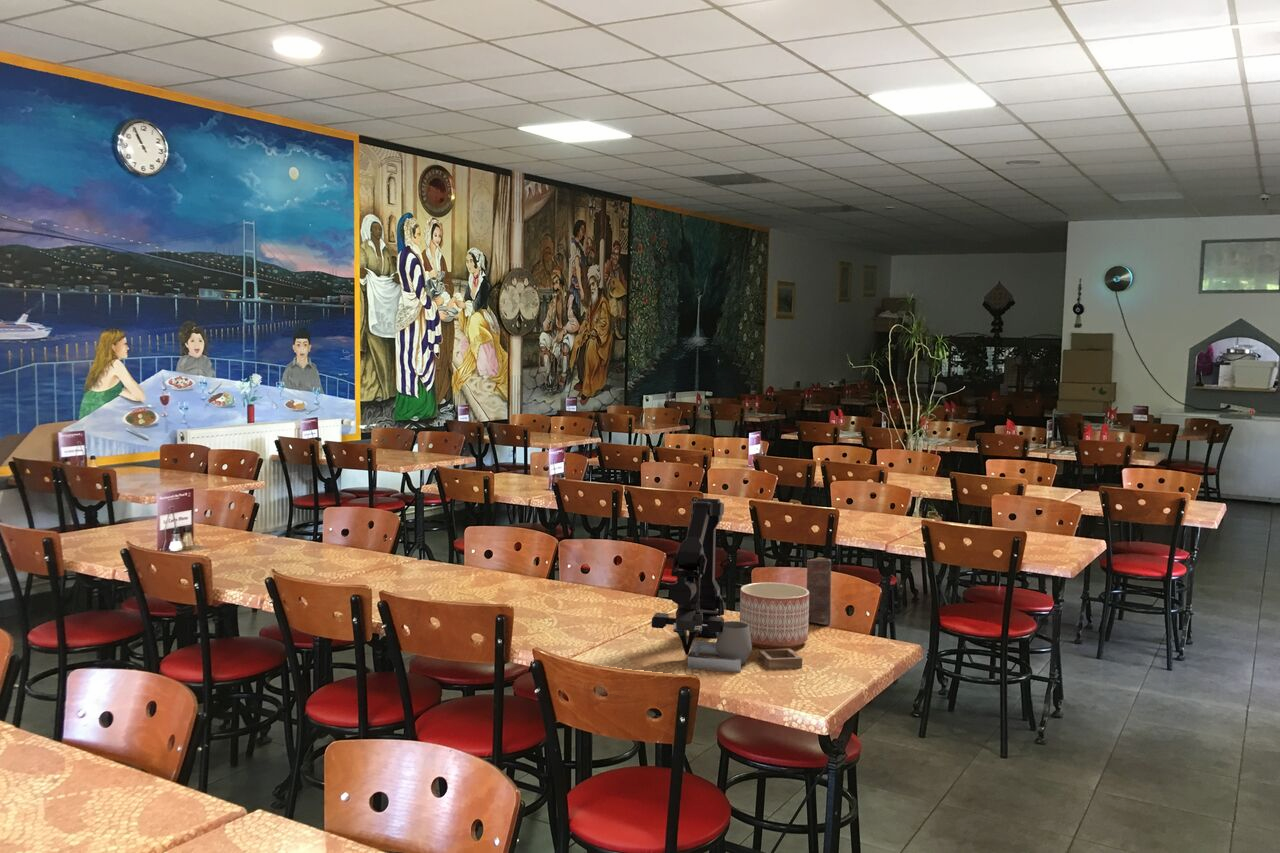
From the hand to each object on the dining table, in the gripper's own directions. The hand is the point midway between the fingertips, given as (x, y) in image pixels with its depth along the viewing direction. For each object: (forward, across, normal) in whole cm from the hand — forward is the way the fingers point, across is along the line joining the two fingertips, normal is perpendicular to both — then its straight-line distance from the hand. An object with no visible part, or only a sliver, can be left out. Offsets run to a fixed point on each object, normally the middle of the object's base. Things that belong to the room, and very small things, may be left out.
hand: (686, 654), depth 262 cm
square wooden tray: (+1, +24, +2) cm, 24 cm away
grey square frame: (+1, +8, 0) cm, 8 cm away
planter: (+1, +22, +22) cm, 31 cm away
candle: (+1, +35, +45) cm, 57 cm away
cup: (+1, +12, 0) cm, 12 cm away
